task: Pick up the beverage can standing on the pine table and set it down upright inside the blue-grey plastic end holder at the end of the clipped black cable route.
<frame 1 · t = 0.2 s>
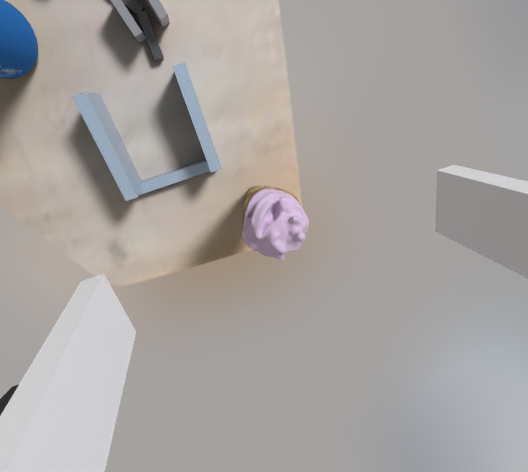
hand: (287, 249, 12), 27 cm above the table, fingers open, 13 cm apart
end holder: (156, 127, 34), on the table
ice cream cone: (251, 194, 39), on the table
beverage can: (2, 40, 28), on the table
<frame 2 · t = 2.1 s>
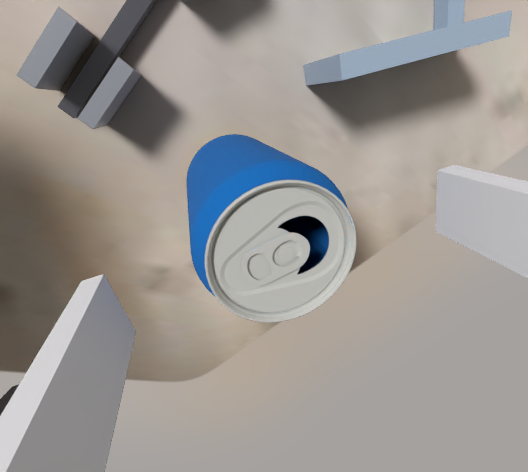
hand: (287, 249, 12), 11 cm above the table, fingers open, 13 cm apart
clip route: (124, 2, 16), on the table
beverage can: (233, 180, 22), on the table
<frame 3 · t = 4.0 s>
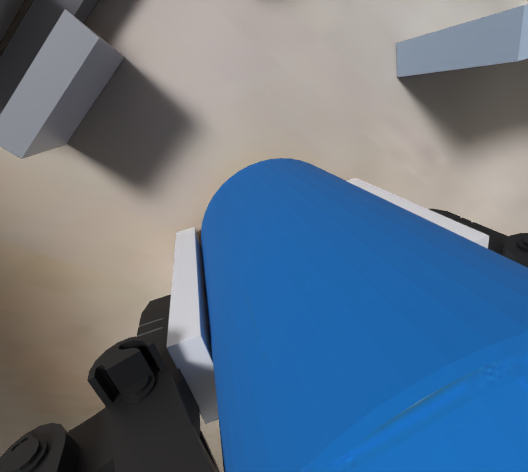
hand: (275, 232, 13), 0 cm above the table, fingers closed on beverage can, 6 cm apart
beverage can: (272, 227, 14), on the table, touching gripper
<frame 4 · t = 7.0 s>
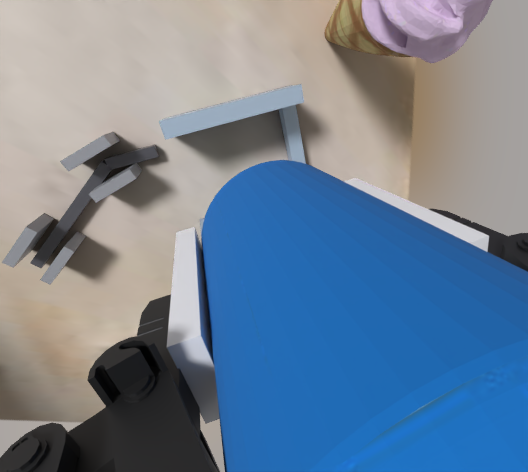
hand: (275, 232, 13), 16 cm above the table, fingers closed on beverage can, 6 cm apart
end holder: (234, 165, 27), on the table
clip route: (72, 199, 26), on the table
ice cream cone: (334, 35, 25), on the table
beverage can: (272, 228, 14), point 15 cm above the table, touching gripper
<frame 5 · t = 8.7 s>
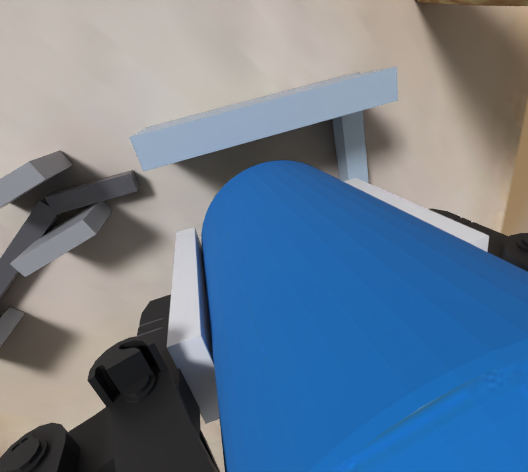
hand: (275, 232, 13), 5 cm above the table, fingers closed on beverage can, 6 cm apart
end holder: (260, 199, 18), on the table
beverage can: (272, 228, 14), point 4 cm above the table, touching gripper
when the fingers open (2 cm above the table, at t = 10.0 s): beverage can drops 2 cm, on the table.
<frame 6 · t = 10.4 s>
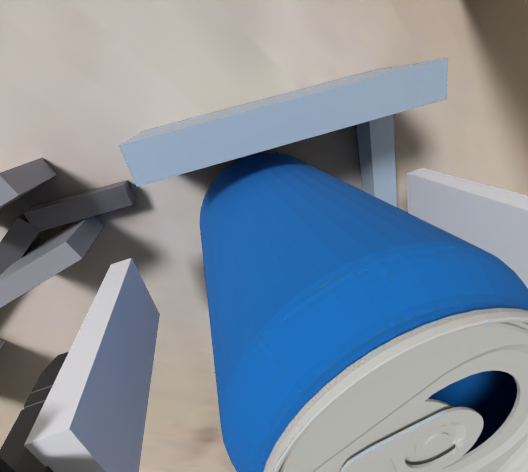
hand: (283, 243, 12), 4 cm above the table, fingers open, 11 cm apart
end holder: (272, 211, 15), on the table
beverage can: (262, 213, 16), on the table
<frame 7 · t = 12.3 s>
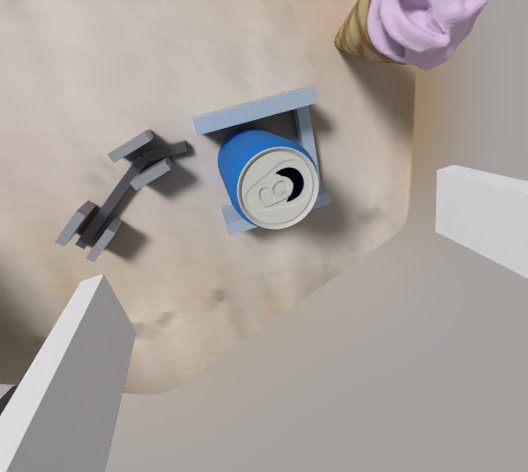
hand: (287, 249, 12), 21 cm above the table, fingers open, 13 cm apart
end holder: (253, 158, 31), on the table
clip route: (112, 188, 29), on the table
ice cream cone: (343, 43, 29), on the table
beverage can: (248, 160, 31), on the table
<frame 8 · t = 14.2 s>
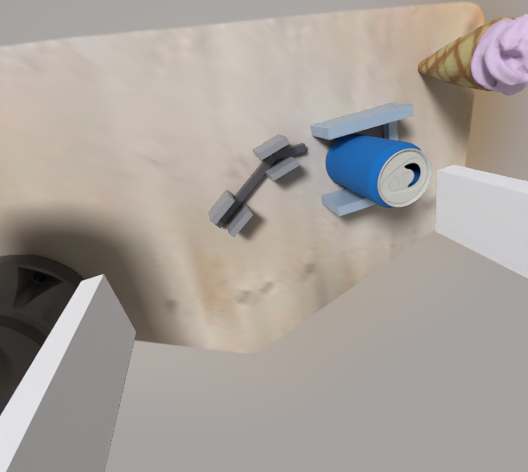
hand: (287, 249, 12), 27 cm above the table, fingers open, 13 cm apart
end holder: (349, 157, 39), on the table
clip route: (245, 180, 38), on the table
ice cream cone: (424, 69, 37), on the table
beverage can: (345, 158, 40), on the table
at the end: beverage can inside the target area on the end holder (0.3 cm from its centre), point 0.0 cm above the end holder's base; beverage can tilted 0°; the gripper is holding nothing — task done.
